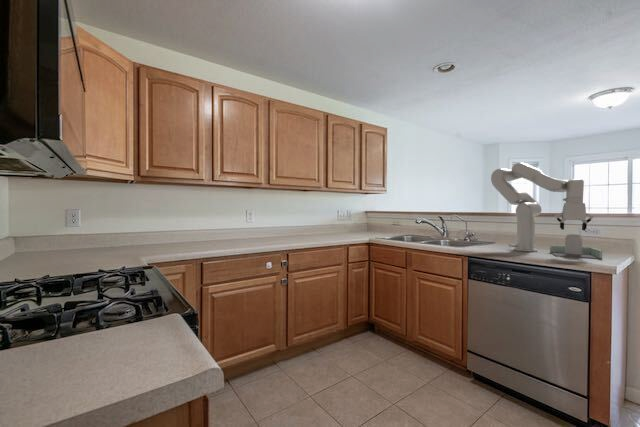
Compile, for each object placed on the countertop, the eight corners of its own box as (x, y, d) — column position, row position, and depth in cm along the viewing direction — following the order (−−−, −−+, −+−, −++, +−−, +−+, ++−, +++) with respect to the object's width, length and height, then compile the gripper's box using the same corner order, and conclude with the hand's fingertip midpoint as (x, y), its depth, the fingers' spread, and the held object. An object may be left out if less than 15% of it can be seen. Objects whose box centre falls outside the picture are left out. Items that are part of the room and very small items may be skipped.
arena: (556, 256, 171) (556, 248, 171) (549, 252, 185) (550, 245, 185) (602, 259, 161) (602, 250, 161) (591, 255, 176) (592, 247, 176)
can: (580, 254, 174) (581, 234, 173) (582, 256, 167) (583, 235, 167) (564, 253, 178) (564, 233, 178) (565, 255, 172) (566, 234, 171)
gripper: (557, 200, 173) (555, 229, 173) (596, 200, 165) (594, 231, 165) (554, 200, 179) (552, 228, 180) (591, 200, 171) (590, 230, 172)
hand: (572, 229), depth 173 cm, fingers open, 9 cm apart
